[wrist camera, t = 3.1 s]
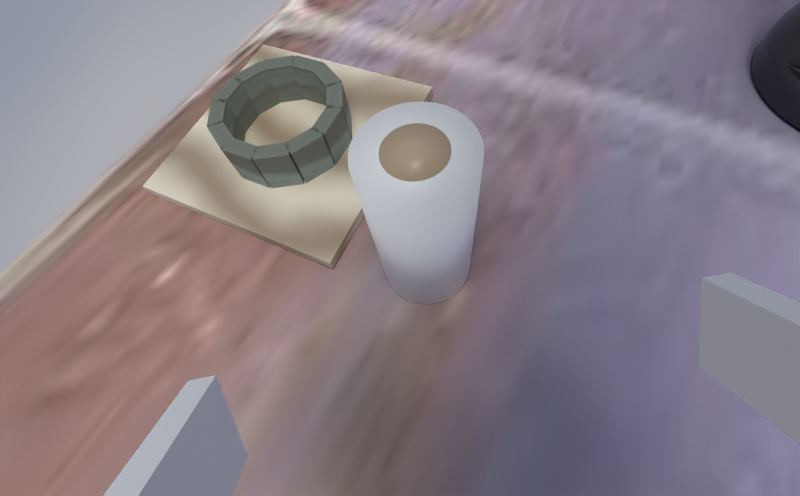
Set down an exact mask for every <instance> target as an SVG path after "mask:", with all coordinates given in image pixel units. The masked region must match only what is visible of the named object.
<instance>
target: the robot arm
mask: <svg viewBox="0 0 800 496" xmlns="http://www.w3.org/2000/svg"><path fill="white" fill-rule="evenodd" d="M752 75H753V79H754V82H755V84H756V87H757V89H758V91H759V92H760V94H761V95H762V97H763V98H764V99H765V101H766V102H767V103H768V104H769V105H770V106H771V107H772V108H773V109H774V110H775V111H776V112H777V113H778V114H779V115H780V116H781V117H783V118H784V119H785V120H786V121H788V122H789V123H791V124H792V125H793V126H795V127H797V128H798V129H800V3H798V4H797V5H796V6H794V7H793V8H792V9H791V10H789V11H788V12H787V13H786V14H785V15H783V16H782V17H781V18H780V19H779V20H778V21H777V23H776V24H775V25H774V26H773V27H772V29H771V30H770V31H769V33H768V34H767V35H766V36H765V38H764V39H763V40H762V42H761V43H760V44H759V46H758V47H757V49H756V51H755V53H754V55H753V59H752ZM698 366H699V367H700V368H701V369H703V370H704V371H705V372H706V373H708V374H709V375H710V376H712V377H713V378H714V379H716V380H717V381H718V382H719V383H721V384H722V385H723V386H725V387H726V388H727V389H729V390H730V391H731V392H732V393H734V394H735V395H736V396H738V397H739V398H740V399H742V400H743V401H744V402H745V403H747V404H748V405H749V406H751V407H752V408H753V409H755V410H756V411H757V412H758V413H760V414H761V415H762V416H764V417H765V418H766V419H768V420H769V421H770V422H771V423H773V424H774V425H775V426H777V427H778V428H779V429H781V430H782V431H783V432H784V433H786V434H787V435H788V436H790V437H791V438H792V439H794V440H795V441H796V442H797V443H799V444H800V302H799V301H796V300H794V299H792V298H789V297H787V296H785V295H782V294H780V293H778V292H775V291H773V290H771V289H769V288H766V287H764V286H762V285H759V284H757V283H755V282H752V281H750V280H748V279H745V278H743V277H741V276H738V275H736V274H734V273H731V272H728V273H723V274H718V275H713V276H708V277H703V278H702V280H701V307H700V334H699V360H698ZM247 456H248V455H247V452H246V450H245V447H244V445H243V442H242V440H241V437H240V434H239V432H238V429H237V427H236V424H235V422H234V419H233V417H232V414H231V412H230V409H229V407H228V404H227V402H226V399H225V397H224V394H223V392H222V389H221V387H220V384H219V382H218V379H217V377H216V375H215V376H210V377H205V378H200V379H195V380H190V381H188V382H187V383H186V384H185V386H184V387H183V388H182V390H181V391H180V392H179V394H178V395H177V396H176V398H175V399H174V401H173V402H172V403H171V405H170V406H169V407H168V409H167V410H166V411H165V413H164V414H163V415H162V417H161V418H160V420H159V421H158V422H157V424H156V425H155V426H154V428H153V429H152V430H151V432H150V433H149V434H148V436H147V437H146V439H145V440H144V441H143V443H142V444H141V445H140V447H139V448H138V449H137V451H136V452H135V453H134V455H133V456H132V458H131V459H130V460H129V462H128V463H127V464H126V466H125V467H124V468H123V470H122V471H121V472H120V474H119V475H118V477H117V478H116V479H115V481H114V482H113V483H112V485H111V486H110V487H109V489H108V490H107V491H106V493H105V494H104V496H232V494H233V491H234V489H235V486H236V484H237V481H238V479H239V476H240V474H241V471H242V469H243V466H244V463H245V461H246V458H247Z"/></svg>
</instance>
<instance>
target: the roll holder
mask: <svg viewBox="0 0 800 496" xmlns="http://www.w3.org/2000/svg"><path fill="white" fill-rule="evenodd" d="M233 76H234V77H231V78H230V79H229V80H228V81H227V82H226V83H225V85H224V86H223V87H222V88H221V89H220V90H219V92H218V93H217V94H216V95H215V96H214V97H213V99H212V100H213V101H211V105H210V108H209V109H208V110H207V111H206V112H205V113H204V115H203V116H202V117H201V118H200V119H199V121H198V122H197V123H196V124H195V125H194V126H193V128H192V129H191V130H190V131H189V132H188V133H187V135H186V136H185V137H184V138H183V139H182V140H181V142H180V143H179V144H178V145H177V146H176V148H175V149H174V150H173V151H172V152H171V153H170V155H169V156H168V157H167V158H166V159H165V160H164V162H163V163H162V164H161V165H160V166H159V168H158V169H157V170H156V171H155V172H154V173H153V175H152V176H151V177H150V178H149V179H148V180H147V182H146V183H145V184H144V185H143V187H144V188H145V189H146V190H147V191H149V192H150V193H151V194H154V195H156V196H158V197H161V198H163V199H166V200H168V201H170V202H173V203H175V204H178V205H180V206H182V207H185V208H187V209H190V210H192V211H194V212H197V213H199V214H202V215H204V216H206V217H209V218H211V219H214V220H216V221H218V222H221V223H223V224H226V225H228V226H230V227H233V228H235V229H238V230H240V231H242V232H245V233H247V234H250V235H252V236H255V237H257V238H259V239H262V240H264V241H267V242H269V243H271V244H274V245H276V246H279V247H281V248H283V249H286V250H288V251H291V252H293V253H295V254H298V255H300V256H303V257H305V258H307V259H310V260H312V261H315V262H317V263H319V264H322V265H324V266H327V267H329V268H331V269H334V267H335V265H336V264H337V262H338V260H339V258H340V257H341V255H342V253H343V251H344V250H345V248H346V246H347V244H348V243H349V241H350V239H351V238H352V236H353V234H354V232H355V231H356V229H357V227H358V225H359V224H360V222H361V220H362V218H363V217H364V212H363V209H362V206H361V204H360V201H359V198H358V195H357V192H356V189H355V186H354V184H353V181H352V178H351V175H350V172H349V168H348V151H349V147H350V144H351V141H352V139H353V137H354V135H355V134H356V132H357V131H358V130H359V128H360V127H361V126H362V125H363V124H364V123H365V122H366V121H367V120H368V119H370V118H371V117H372V116H374V115H375V114H377V113H378V112H380V111H382V110H384V109H386V108H389V107H391V106H394V105H398V104H402V103H407V102H417V101H422V102H429V101H430V100H431V98H432V96H433V95H432V87H431V86H427V85H423V84H419V83H415V82H411V81H407V80H403V79H399V78H395V77H391V76H387V75H383V74H379V73H375V72H371V71H367V70H363V69H359V68H355V67H351V66H347V65H343V64H339V63H335V62H331V61H327V60H323V59H319V58H315V57H311V56H307V55H303V54H299V53H295V52H291V51H287V50H283V49H279V48H275V47H271V46H267V45H262V47H261V48H260V49H259V50H258V51H257V52H256V54H255V55H254V56H253V57H252V58H251V59H250V61H249V62H248V63H247V64H246V65H245V67H244V68H243V69H242V70H241V71H240V72H238V73H237V74H235V75H233Z"/></svg>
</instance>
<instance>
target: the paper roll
mask: <svg viewBox="0 0 800 496" xmlns="http://www.w3.org/2000/svg"><path fill="white" fill-rule="evenodd" d="M483 161H484V144H483V140H482V137H481V135H480V133H479V131H478V129H477V127H476V126H475V125H474V123H473V122H472V121H471V120H470V119H469V118H468V117H466V116H465V115H464V114H462V113H461V112H459V111H457V110H456V109H453V108H451V107H449V106H446V105H443V104H439V103H434V102H422V101H417V102H407V103H402V104H398V105H394V106H391V107H389V108H386V109H384V110H382V111H380V112H378V113H377V114H375V115H374V116H372V117H371V118H370V119H368V120H367V121H366V122H365V123H364V124H363V125H362V126H361V127H360V128H359V130H358V131H357V132H356V134H355V135H354V137H353V139H352V141H351V144H350V147H349V151H348V168H349V172H350V175H351V178H352V181H353V184H354V186H355V189H356V192H357V195H358V198H359V201H360V204H361V206H362V209H363V212H364V215H365V218H366V221H367V223H368V226H369V229H370V232H371V235H372V238H373V241H374V243H375V246H376V249H377V252H378V255H379V258H380V261H381V263H382V266H383V269H384V272H385V275H386V278H387V280H388V282H389V284H390V286H391V287H392V288H393V290H394V291H395V292H396V293H397V294H398V295H400V296H401V297H403V298H404V299H406V300H408V301H411V302H414V303H418V304H435V303H439V302H443V301H445V300H447V299H449V298H451V297H452V296H454V295H455V294H456V293H457V292H458V291H459V290H460V289H461V288H462V287H463V285H464V284H465V282H466V280H467V277H468V275H469V270H470V262H471V255H472V247H473V239H474V231H475V223H476V216H477V208H478V200H479V192H480V184H481V177H482V169H483Z"/></svg>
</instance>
